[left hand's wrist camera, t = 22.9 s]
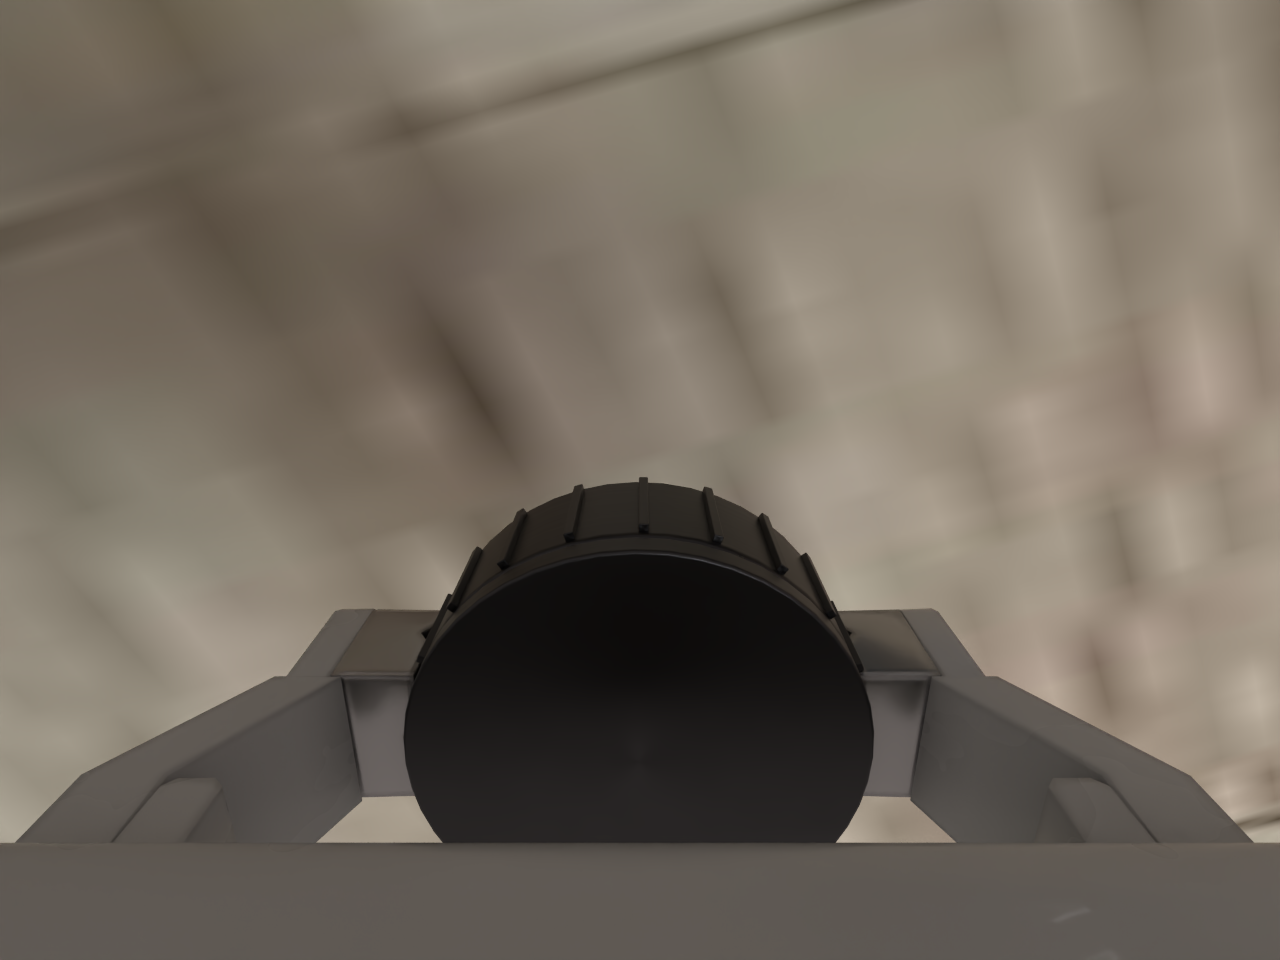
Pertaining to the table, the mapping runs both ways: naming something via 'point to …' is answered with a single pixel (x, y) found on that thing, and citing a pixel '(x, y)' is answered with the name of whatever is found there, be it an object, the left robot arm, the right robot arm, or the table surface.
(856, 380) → the table surface
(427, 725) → the lid
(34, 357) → the table surface
